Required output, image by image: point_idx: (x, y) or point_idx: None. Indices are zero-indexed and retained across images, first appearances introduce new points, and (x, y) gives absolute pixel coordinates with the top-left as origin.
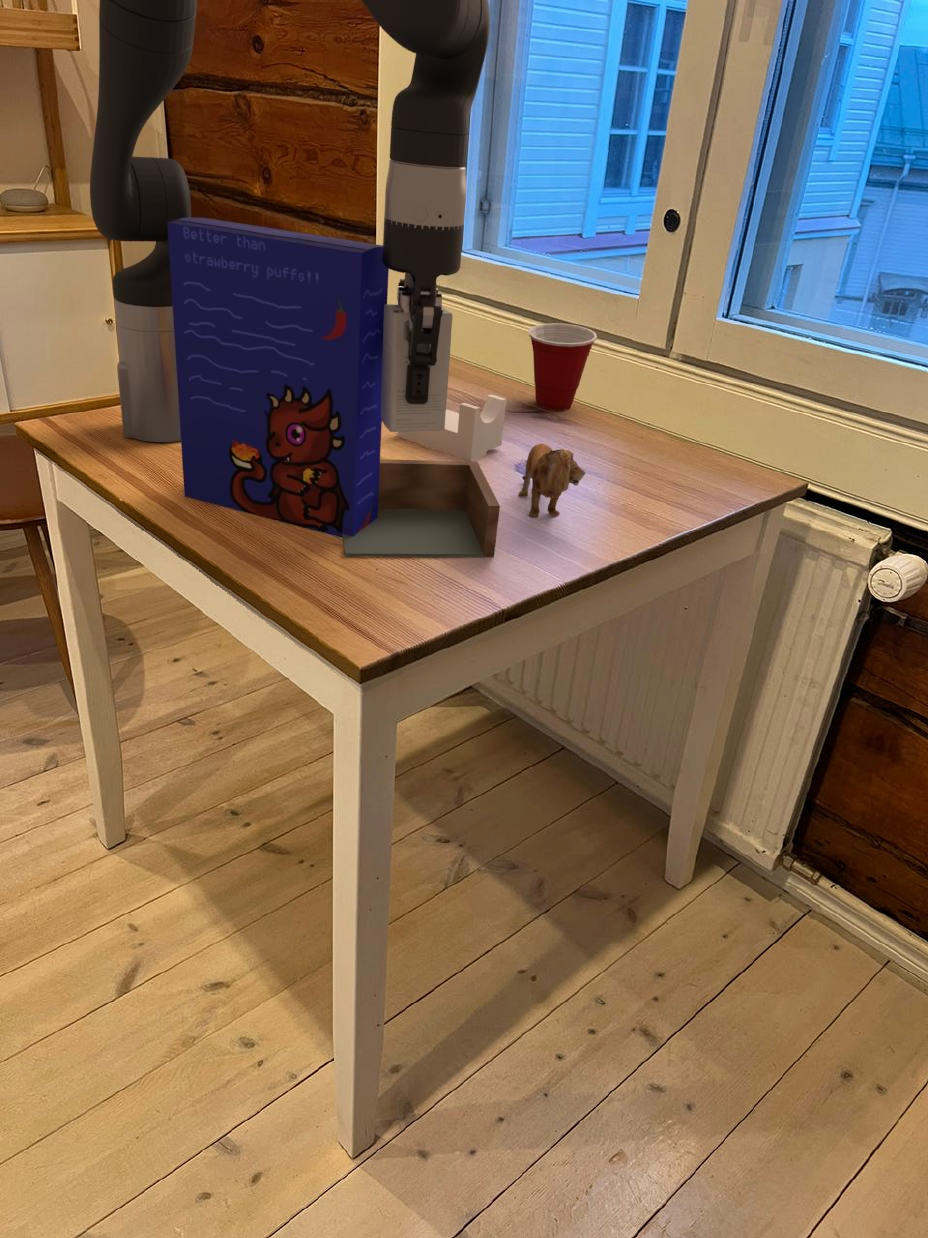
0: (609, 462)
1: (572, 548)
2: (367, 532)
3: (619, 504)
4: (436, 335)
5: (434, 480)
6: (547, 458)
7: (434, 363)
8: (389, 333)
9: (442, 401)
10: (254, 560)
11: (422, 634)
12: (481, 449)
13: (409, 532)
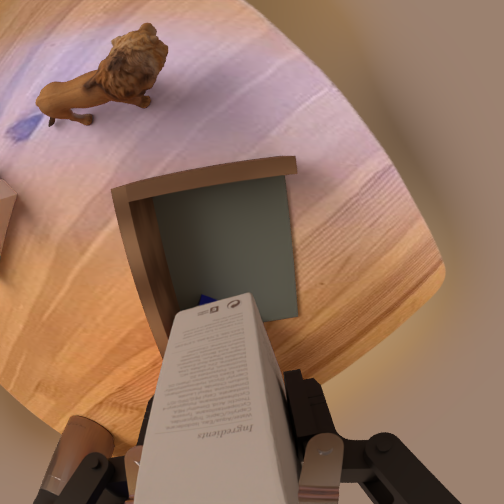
0: (8, 50)
1: (239, 59)
2: None
3: (104, 15)
4: (443, 490)
5: (148, 245)
6: (130, 72)
7: (393, 436)
8: None
9: (261, 337)
10: (307, 373)
11: (426, 239)
12: (1, 185)
13: (235, 258)
